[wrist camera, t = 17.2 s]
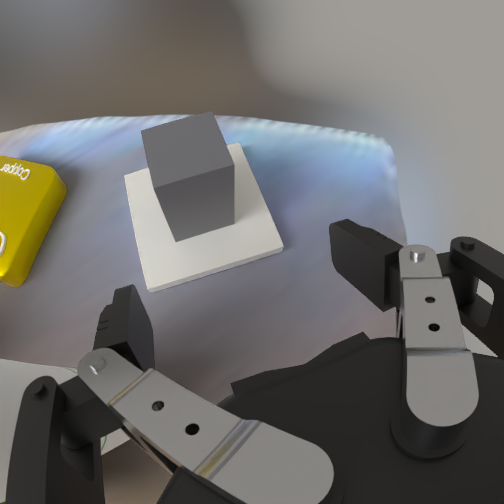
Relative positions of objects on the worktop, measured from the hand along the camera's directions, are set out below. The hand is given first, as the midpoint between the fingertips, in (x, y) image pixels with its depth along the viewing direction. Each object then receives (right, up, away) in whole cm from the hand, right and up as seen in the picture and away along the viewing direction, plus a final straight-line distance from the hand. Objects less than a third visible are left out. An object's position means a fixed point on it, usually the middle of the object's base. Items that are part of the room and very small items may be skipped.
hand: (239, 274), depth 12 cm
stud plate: (-5, +5, +22) cm, 23 cm away
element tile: (-32, +5, +21) cm, 38 cm away
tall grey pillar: (-5, +5, +21) cm, 22 cm away
